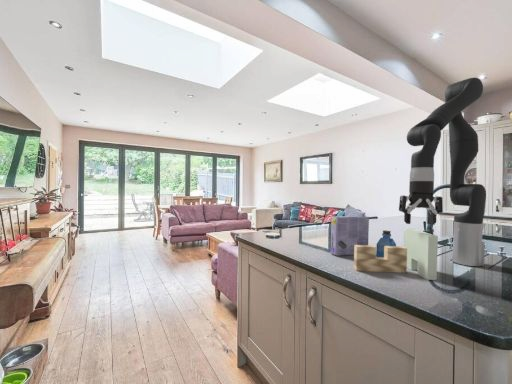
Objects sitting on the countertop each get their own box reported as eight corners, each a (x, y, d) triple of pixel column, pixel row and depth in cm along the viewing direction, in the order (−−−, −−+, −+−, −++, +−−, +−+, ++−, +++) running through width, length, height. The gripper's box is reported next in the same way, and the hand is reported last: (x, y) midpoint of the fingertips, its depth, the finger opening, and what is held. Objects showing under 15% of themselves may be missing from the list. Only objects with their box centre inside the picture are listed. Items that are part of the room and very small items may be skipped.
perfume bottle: (395, 258, 112) (396, 231, 112) (391, 260, 108) (392, 232, 107) (380, 255, 116) (381, 229, 116) (376, 257, 112) (377, 230, 111)
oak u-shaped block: (402, 270, 96) (403, 246, 95) (406, 272, 93) (407, 248, 92) (353, 268, 97) (354, 244, 97) (356, 270, 94) (356, 246, 94)
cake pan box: (363, 251, 123) (364, 215, 123) (370, 253, 119) (371, 216, 118) (329, 253, 117) (330, 216, 117) (336, 256, 112) (337, 217, 112)
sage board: (410, 265, 102) (412, 228, 101) (436, 280, 86) (437, 236, 85) (403, 265, 102) (404, 228, 101) (427, 279, 86) (428, 235, 85)
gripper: (435, 181, 96) (433, 223, 96) (396, 180, 97) (395, 222, 97) (448, 180, 89) (446, 226, 89) (406, 179, 90) (405, 224, 90)
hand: (419, 224), depth 93 cm, fingers open, 8 cm apart
